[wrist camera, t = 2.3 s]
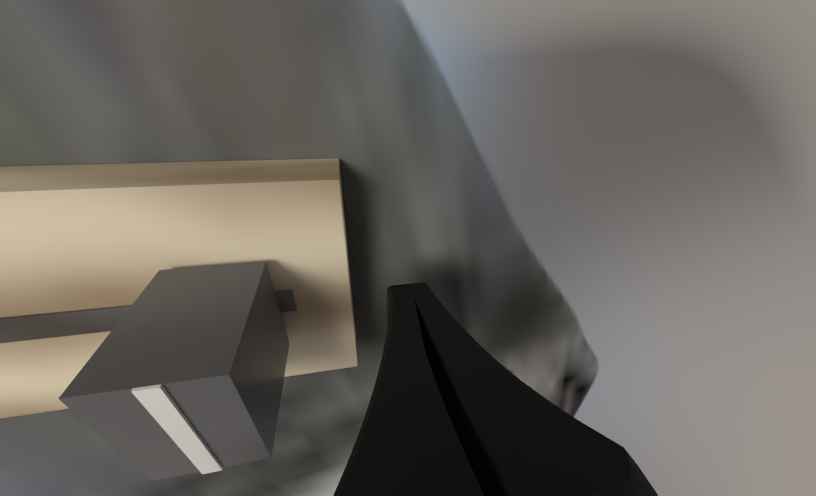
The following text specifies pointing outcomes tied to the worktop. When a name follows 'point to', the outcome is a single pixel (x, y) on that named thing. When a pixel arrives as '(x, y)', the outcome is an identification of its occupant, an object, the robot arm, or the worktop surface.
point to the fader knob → (189, 372)
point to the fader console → (161, 257)
